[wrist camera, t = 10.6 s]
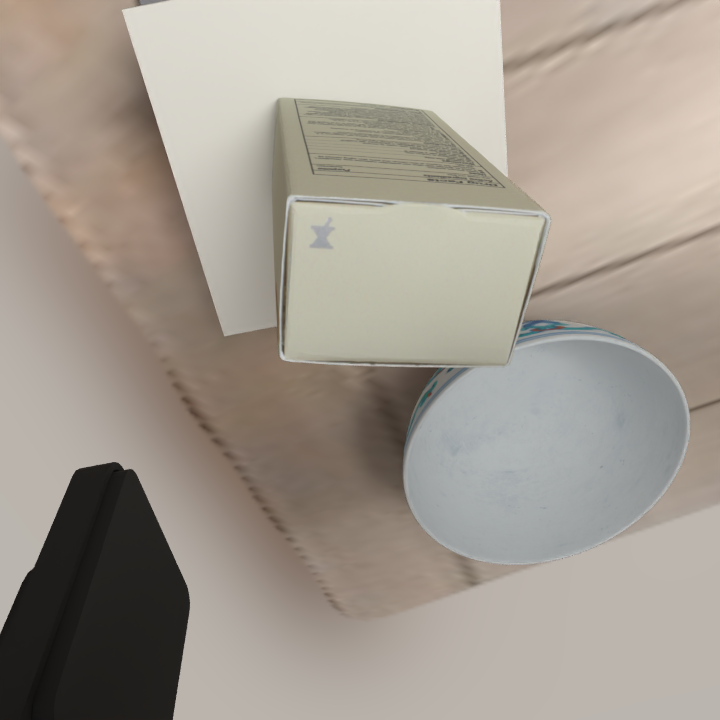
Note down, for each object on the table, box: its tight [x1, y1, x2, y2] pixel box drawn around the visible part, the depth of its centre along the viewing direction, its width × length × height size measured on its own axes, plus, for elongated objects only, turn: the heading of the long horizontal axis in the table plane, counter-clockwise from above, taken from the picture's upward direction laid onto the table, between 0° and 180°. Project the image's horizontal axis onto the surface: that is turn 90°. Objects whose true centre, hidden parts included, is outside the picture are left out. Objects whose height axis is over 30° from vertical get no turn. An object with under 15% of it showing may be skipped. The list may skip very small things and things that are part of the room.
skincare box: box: [272, 98, 551, 368], centre depth 21 cm, size 6×4×12 cm
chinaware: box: [403, 320, 690, 565], centre depth 38 cm, size 15×15×8 cm
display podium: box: [122, 0, 508, 336], centre depth 29 cm, size 14×14×7 cm
